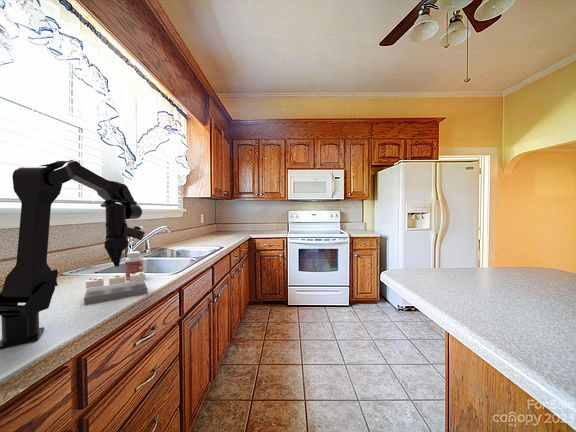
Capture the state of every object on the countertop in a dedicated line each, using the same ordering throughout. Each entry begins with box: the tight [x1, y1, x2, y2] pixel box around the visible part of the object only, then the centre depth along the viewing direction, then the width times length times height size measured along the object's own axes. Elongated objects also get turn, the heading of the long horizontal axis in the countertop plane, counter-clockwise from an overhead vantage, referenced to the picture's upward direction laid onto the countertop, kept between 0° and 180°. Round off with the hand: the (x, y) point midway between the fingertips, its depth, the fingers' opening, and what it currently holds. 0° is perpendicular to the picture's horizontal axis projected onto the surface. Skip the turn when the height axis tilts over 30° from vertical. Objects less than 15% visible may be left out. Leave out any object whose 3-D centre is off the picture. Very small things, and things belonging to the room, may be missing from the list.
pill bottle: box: [124, 250, 143, 280], centre depth 105 cm, size 6×6×11 cm
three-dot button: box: [85, 276, 105, 289], centre depth 82 cm, size 4×4×2 cm
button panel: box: [83, 280, 148, 305], centre depth 85 cm, size 11×17×2 cm, turn 125°
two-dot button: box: [129, 271, 146, 282], centre depth 89 cm, size 4×4×2 cm
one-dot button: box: [108, 273, 126, 285], centre depth 85 cm, size 4×4×2 cm
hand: (116, 265), depth 85 cm, fingers open, 5 cm apart
